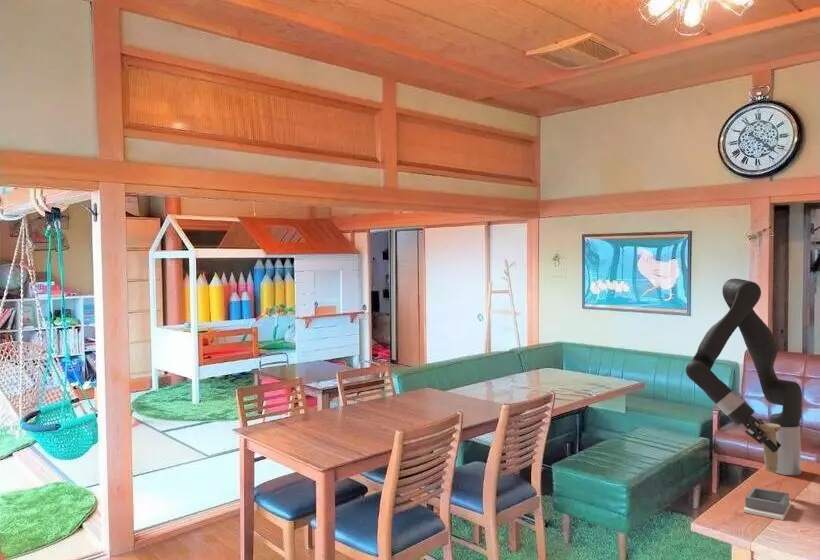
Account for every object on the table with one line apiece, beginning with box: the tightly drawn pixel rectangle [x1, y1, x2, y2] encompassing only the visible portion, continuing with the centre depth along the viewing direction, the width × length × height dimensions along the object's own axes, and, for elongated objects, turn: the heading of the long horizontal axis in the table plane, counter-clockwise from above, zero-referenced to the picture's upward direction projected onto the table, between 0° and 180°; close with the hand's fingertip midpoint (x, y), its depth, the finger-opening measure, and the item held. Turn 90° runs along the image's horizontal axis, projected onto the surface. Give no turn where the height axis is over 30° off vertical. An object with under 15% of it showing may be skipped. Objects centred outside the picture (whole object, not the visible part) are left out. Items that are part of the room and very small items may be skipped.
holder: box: [743, 486, 792, 521], centre depth 187 cm, size 15×10×4 cm
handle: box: [759, 422, 781, 473], centre depth 198 cm, size 5×6×15 cm
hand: (777, 448), depth 197 cm, fingers closed on handle, 3 cm apart
